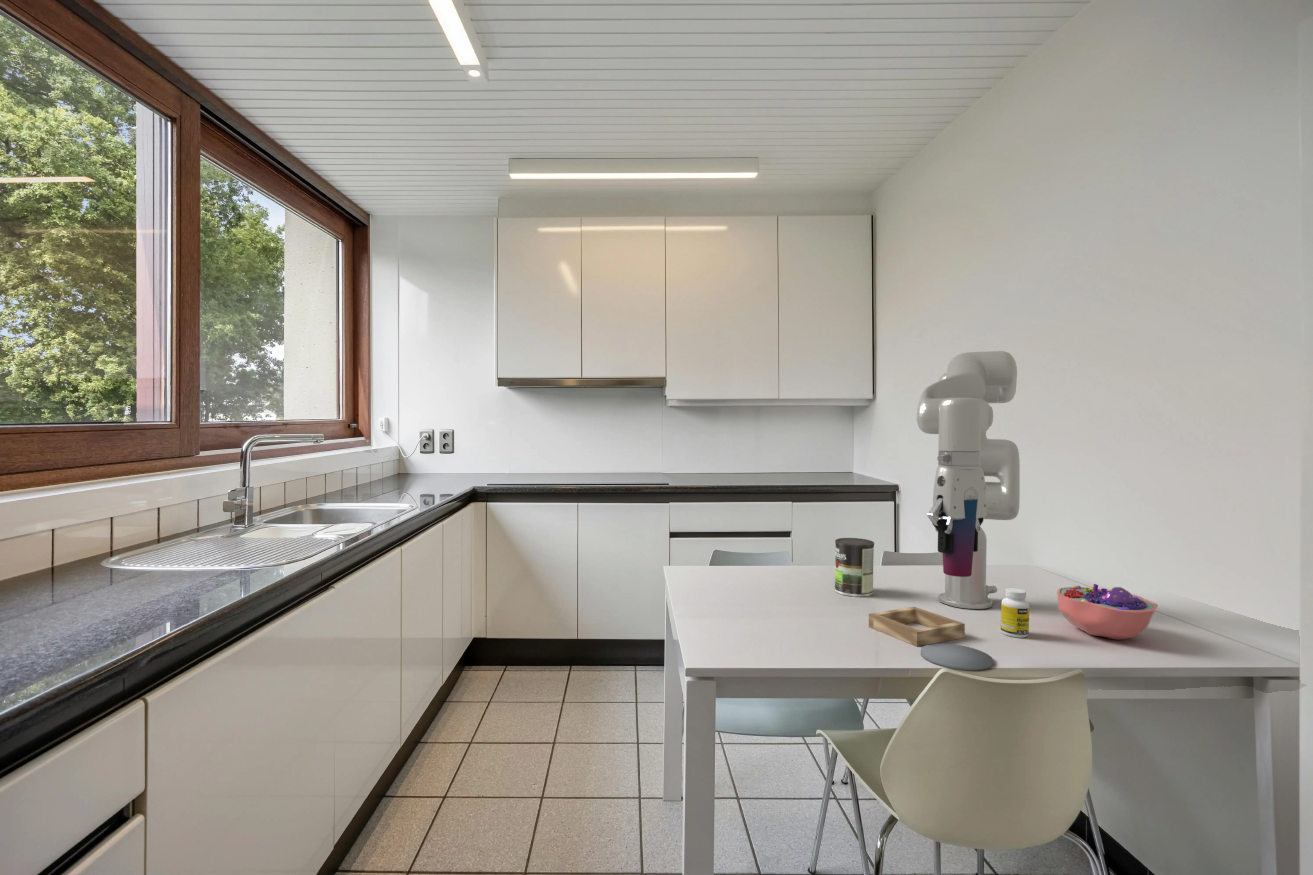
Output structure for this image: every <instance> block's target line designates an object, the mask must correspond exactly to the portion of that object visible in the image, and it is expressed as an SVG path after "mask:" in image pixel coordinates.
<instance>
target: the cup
mask: <svg viewBox="0 0 1313 875" xmlns="http://www.w3.org/2000/svg"><path fill="white" fill-rule="evenodd" d="M977 502H978V499H976V500H964V511H965V518H964V519H962V520H954V524H953V527H952V530H951V534H953V554H945V553H942V554H941V555H942V567H943V568H942V571H943V574H944V575H945V574H947V575H950V576H957V577H969V576H971V574H972V562H973V550H974V538H975V526H976V512H977ZM943 516H946V517H949V516H947V515H946V513H945V512H943ZM944 523H945V525H946V524H947V520H944Z"/></svg>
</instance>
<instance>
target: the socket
mask: <svg viewBox="0 0 1313 875" xmlns="http://www.w3.org/2000/svg"><path fill="white" fill-rule="evenodd" d="M909 623H910V624H911V623H917V624H920V625H923V626H925V627H921V628H915V627H913V626H909V625H906V624H909ZM965 624H966V623H965V622H961V621H958V620H955V619H952V618H949V617H947V616H944V615H940V614H937V613H935V612H931V611H928V610H926V609H923V608H919V607H916V606H911V607H904V608H898V609H891V610H886V611H885V610H883V611H879V612H873V613H872V612H871V613H868V628H871V629H872V630H875V631H877V632H880V633H883V634H885V635H888V636H889V637H893V638H895V639H898V640H900V641H903V642H905V643H908V644H910V645H912V646H915V647H921V646H922V647H923V646H926V645H930V644H939V643H941V642H943V643H944V642H947V641H952V640H957V639H963V638H965V633H966V632H965V630H966V625H965Z"/></svg>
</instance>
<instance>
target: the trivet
mask: <svg viewBox="0 0 1313 875" xmlns="http://www.w3.org/2000/svg"><path fill="white" fill-rule="evenodd" d="M920 656H921V657H922V658H923V659H924V660H926V661H928V662H930V663H931V664H934V665H937V666H940V667H943V668H947V669H953V670H958V671H967V672H968V671H971V672H973V671H984V670H985V671H986V670H988V669H991V667H993V665H994V659H993V658H992V656H991V655H990V654H988V653H986V652H984V651H982V650H980V649H976V648H973V647H969V646H967V645H960V644H953V643H932V644H927V645H923V646H922V647H921V648H920Z"/></svg>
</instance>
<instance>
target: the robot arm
mask: <svg viewBox="0 0 1313 875" xmlns="http://www.w3.org/2000/svg"><path fill="white" fill-rule="evenodd" d="M1017 379H1018V367H1017V363H1016V360H1015V358H1014V357H1013V355H1012V354H1011V353H1010V352H1007V351H1004V350H998V351H996V350H995V351H994V350H993V351H970V352H969V351H968V352H962V353H958V354H956V355H955V356H954V357H952V359H950V361H949V363H948V364H947V370H946V372H944V373H943V374H942V375H941V376H940V377H939V379H938V381H937V382H934V383H932V384H931V385H928V386H927V387H926V388H924V390H922V393H921V395H920V397H919V402H918V405H917V409H916V410H917V411H916V421H917V422H916V423H917V426H918V428H919V430H920V431H921V432H923V433H925V434H928V435H938V449H937V450H938V455H937V457H936V458H937V465H938V466H937V467H936V471H935V477H934V482H933V483H934V485H933V493H932V494H933V495H932V496H933V497H932V507H931V508H930V510H929V511H928V512H927V515H926V516H927V518H928V519H929V521H930V522H931V524H932V525H933V527H934V528H935V529H934V530H935V532H936V533H937V552H938V553H945V554H953V534H951V530H952V527H953V524H954V520H962V519H964V518H965V511H964V500H976V499H978V502H977V512H976V526H975V538H974V550H973V562H972V574H971V576H969V577H957V576H950V575H947V574H944V576H945V577H944V584H945V585H944V592H941V593H939V594H938V601H939V602H940V603H942V604H945V605H947V606H951V607H955V608H961V609H969V610H983V609H984V610H985V609H990V608H992V607H993V599H990V598H989V597H988V596H989V595H990V594H996V593H997V592H998V587H997V586H996V585H987V535H986V533H985V531H984V529H983V528H982V527H981V525H982V524H983V522H984V520H993V521H1012V520H1014V519H1016V518H1017V517H1018V515H1019V511H1020V502H1021V501H1020V499H1021V498H1020V492H1021V491H1020V483H1021V481H1020V478H1021V476H1020V474H1021V472H1020V470H1021V468H1020V466H1021V464H1020V463H1021V462H1020V461H1021V460H1020V452H1019V448H1018V446H1017V444H1016V443H1015V442H1014V441H1012V440H1009V439H1003V438H1001V439H1000V438H999V439H997V438H996V439H995V438H987V431H988V430H989V429H990V428H991V426H992V425H993V423H994V410H993V408H992V406H990V404H1005V403H1010V402H1011V401H1012V400H1013V399H1014V398H1015V395H1016V392H1017V381H1018V380H1017ZM985 477H994V478H997V479H998V480H999V482H997V481H986V479H985ZM943 512H945V513H946V515H947V516H949V517H946V516H943ZM944 520H947V524H946V525H945V523H944Z"/></svg>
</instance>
